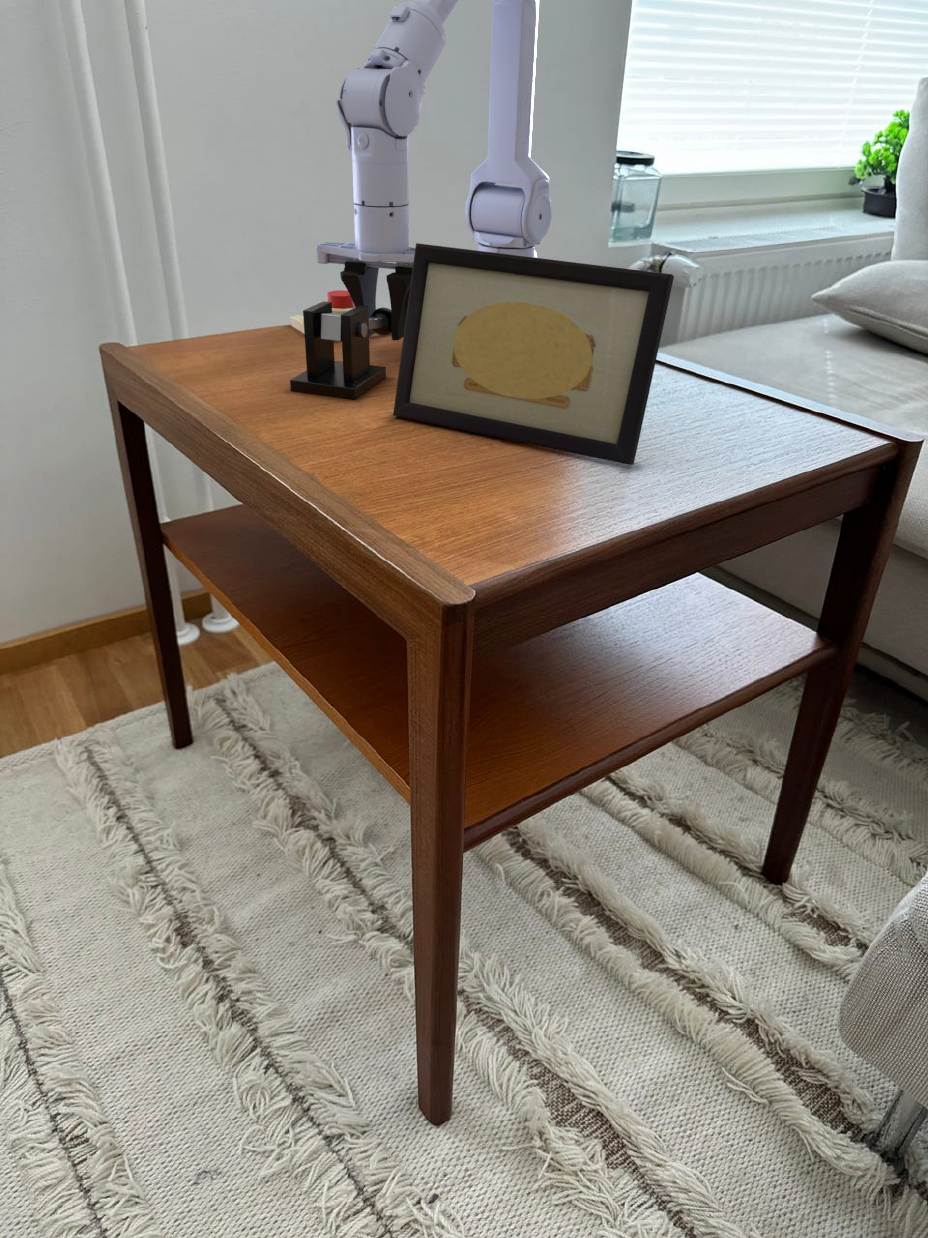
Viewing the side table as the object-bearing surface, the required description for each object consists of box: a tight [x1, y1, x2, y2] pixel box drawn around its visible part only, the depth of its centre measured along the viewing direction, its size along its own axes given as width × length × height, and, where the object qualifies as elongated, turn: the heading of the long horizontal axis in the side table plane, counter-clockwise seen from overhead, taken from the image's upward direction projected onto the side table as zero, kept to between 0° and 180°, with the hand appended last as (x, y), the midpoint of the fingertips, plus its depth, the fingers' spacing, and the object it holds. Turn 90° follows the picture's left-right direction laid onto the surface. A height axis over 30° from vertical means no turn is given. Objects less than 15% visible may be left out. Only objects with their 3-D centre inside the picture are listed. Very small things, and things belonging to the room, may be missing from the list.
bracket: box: [289, 300, 387, 401], centre depth 89 cm, size 8×7×8 cm
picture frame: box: [392, 242, 675, 466], centre depth 79 cm, size 23×9×15 cm, turn 62°
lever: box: [321, 307, 392, 343], centre depth 94 cm, size 15×3×3 cm, turn 162°
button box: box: [289, 299, 381, 338], centre depth 109 cm, size 10×9×3 cm
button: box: [326, 289, 355, 309], centre depth 108 cm, size 3×3×2 cm
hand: (383, 336), depth 100 cm, fingers closed on lever, 3 cm apart
